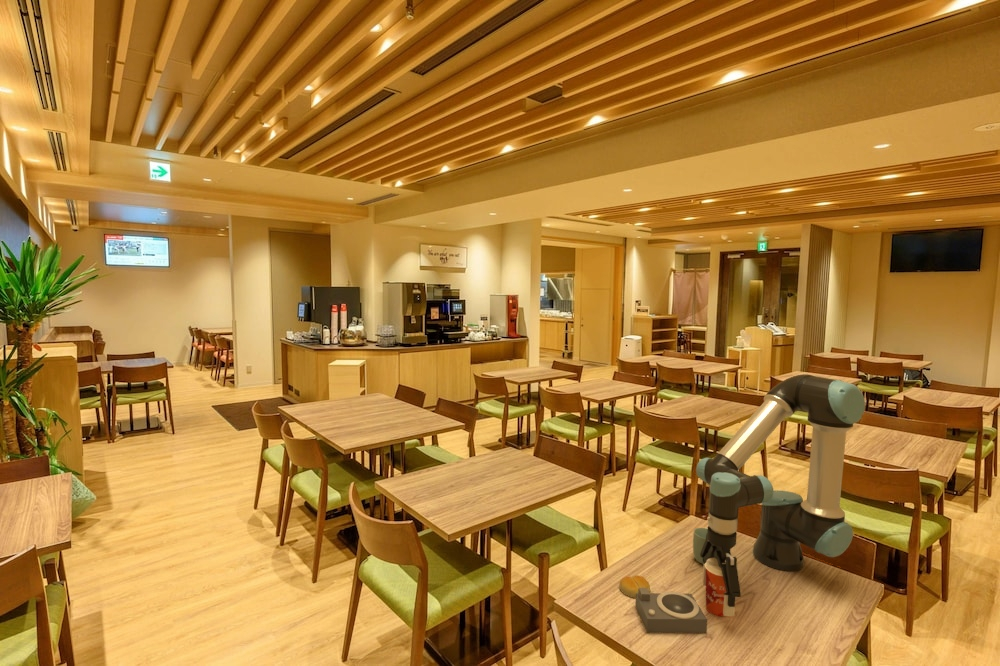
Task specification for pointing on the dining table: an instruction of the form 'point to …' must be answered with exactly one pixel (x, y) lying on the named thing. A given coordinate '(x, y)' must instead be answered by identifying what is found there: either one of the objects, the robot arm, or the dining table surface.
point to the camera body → (670, 612)
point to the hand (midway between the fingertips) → (717, 599)
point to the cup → (699, 543)
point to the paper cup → (714, 587)
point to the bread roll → (633, 585)
